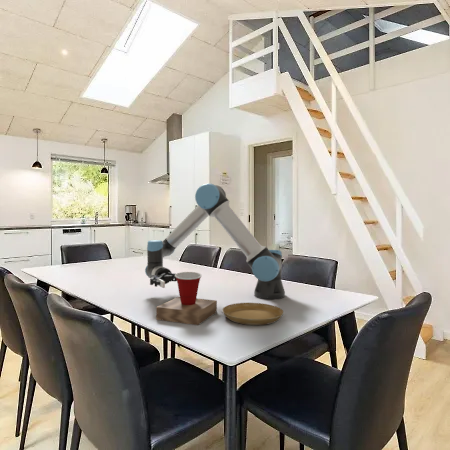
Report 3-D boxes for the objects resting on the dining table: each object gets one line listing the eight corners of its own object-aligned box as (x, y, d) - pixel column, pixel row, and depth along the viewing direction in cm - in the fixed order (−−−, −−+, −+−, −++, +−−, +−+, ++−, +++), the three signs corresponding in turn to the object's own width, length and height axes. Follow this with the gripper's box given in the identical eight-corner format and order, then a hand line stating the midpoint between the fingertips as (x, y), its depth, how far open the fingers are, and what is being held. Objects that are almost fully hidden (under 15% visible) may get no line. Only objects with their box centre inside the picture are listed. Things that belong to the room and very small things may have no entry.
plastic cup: (177, 308, 141) (176, 277, 140) (173, 301, 151) (173, 272, 151) (204, 306, 144) (204, 275, 143) (198, 299, 154) (198, 271, 154)
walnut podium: (216, 312, 153) (216, 300, 153) (198, 325, 136) (198, 311, 136) (178, 307, 159) (178, 296, 159) (156, 319, 143) (156, 306, 142)
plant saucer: (277, 309, 158) (277, 302, 158) (288, 327, 134) (288, 318, 134) (221, 309, 158) (221, 302, 158) (223, 328, 134) (223, 319, 133)
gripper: (186, 280, 179) (205, 288, 161) (135, 285, 167) (150, 295, 149) (186, 265, 179) (205, 271, 161) (135, 269, 167) (150, 276, 148)
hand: (179, 283), depth 155 cm, fingers open, 13 cm apart
